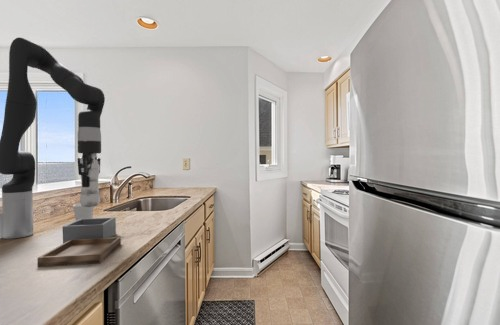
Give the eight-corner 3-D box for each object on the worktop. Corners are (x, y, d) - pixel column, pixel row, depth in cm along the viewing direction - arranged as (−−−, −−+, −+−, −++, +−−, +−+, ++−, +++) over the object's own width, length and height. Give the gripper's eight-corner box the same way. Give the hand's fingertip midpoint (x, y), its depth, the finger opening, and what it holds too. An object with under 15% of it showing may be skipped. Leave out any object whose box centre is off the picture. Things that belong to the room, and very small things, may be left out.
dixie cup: (98, 225, 127) (98, 203, 127) (79, 229, 120) (78, 206, 120) (88, 223, 131) (88, 202, 131) (69, 227, 124) (68, 204, 124)
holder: (62, 245, 97) (62, 226, 97) (80, 235, 110) (80, 218, 110) (103, 243, 99) (102, 224, 99) (115, 234, 112) (115, 217, 112)
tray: (37, 267, 77) (37, 257, 77) (70, 247, 95) (70, 239, 95) (100, 263, 79) (100, 254, 79) (120, 244, 97) (120, 237, 97)
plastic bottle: (104, 206, 106) (104, 152, 106) (87, 208, 100) (87, 151, 100) (92, 205, 109) (92, 152, 109) (75, 207, 103) (75, 152, 103)
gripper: (87, 141, 111) (87, 184, 111) (68, 138, 97) (69, 188, 97) (107, 141, 112) (107, 184, 112) (92, 138, 98) (92, 188, 98)
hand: (89, 186), depth 104 cm, fingers closed on plastic bottle, 6 cm apart
